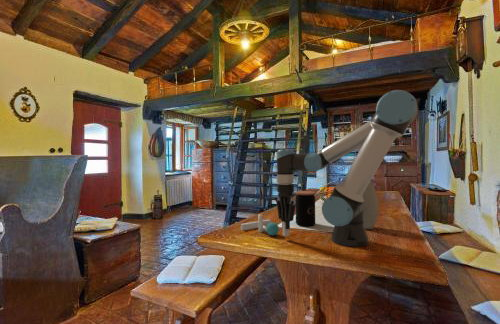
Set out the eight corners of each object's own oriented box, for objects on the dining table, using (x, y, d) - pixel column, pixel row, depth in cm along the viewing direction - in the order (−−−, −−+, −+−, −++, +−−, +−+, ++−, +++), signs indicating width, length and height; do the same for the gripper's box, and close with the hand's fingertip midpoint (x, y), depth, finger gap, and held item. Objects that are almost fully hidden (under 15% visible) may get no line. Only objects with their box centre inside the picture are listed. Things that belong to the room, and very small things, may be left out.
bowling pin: (373, 225, 141) (373, 155, 140) (382, 231, 130) (381, 155, 129) (352, 225, 142) (351, 155, 142) (358, 231, 131) (358, 155, 130)
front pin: (271, 228, 131) (261, 224, 138) (267, 227, 129) (258, 224, 137) (270, 232, 130) (261, 229, 138) (266, 232, 129) (257, 228, 136)
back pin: (263, 231, 131) (263, 214, 131) (260, 232, 130) (259, 215, 130) (261, 230, 133) (261, 214, 133) (257, 231, 132) (257, 214, 132)
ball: (271, 223, 130) (276, 234, 128) (262, 227, 127) (267, 238, 125) (277, 219, 126) (283, 230, 124) (268, 223, 122) (273, 235, 120)
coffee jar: (310, 228, 137) (310, 194, 137) (292, 225, 144) (292, 192, 143) (318, 223, 146) (318, 191, 145) (301, 221, 152) (300, 190, 152)
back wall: (271, 225, 143) (270, 220, 143) (242, 230, 134) (242, 224, 134) (268, 224, 145) (268, 219, 145) (240, 229, 136) (240, 223, 136)
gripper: (301, 184, 114) (302, 237, 115) (282, 182, 125) (283, 230, 126) (288, 185, 110) (288, 240, 111) (270, 183, 122) (270, 233, 122)
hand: (285, 235), depth 118 cm, fingers closed
